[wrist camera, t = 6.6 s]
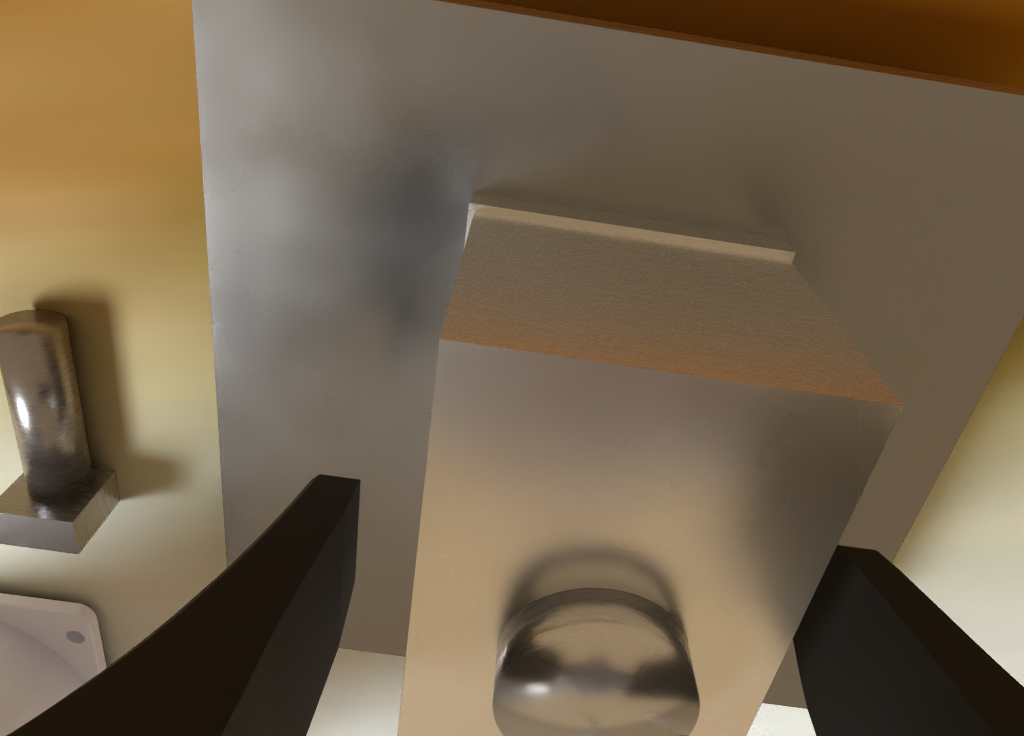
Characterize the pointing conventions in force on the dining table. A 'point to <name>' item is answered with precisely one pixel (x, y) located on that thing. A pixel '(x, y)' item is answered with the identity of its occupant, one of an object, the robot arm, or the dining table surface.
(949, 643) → the robot arm
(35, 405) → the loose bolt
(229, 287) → the stand
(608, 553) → the block
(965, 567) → the dining table surface
